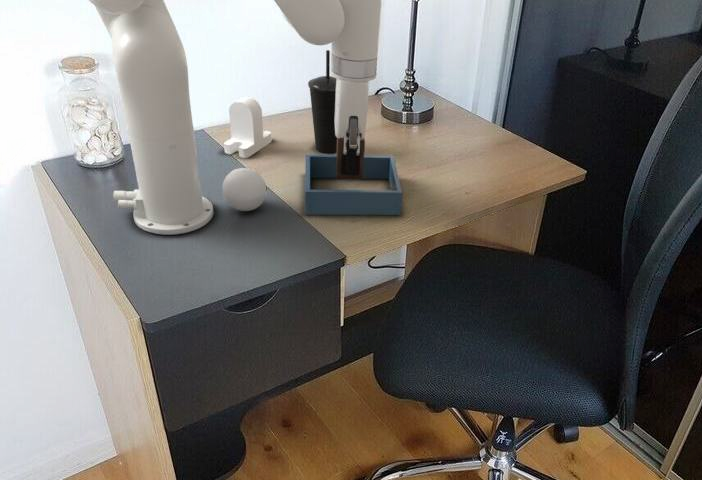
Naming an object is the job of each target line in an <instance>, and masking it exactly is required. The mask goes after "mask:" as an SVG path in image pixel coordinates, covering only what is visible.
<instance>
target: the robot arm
mask: <svg viewBox="0 0 702 480" xmlns="http://www.w3.org/2000/svg"><path fill="white" fill-rule="evenodd" d="M88 1H89V2H90V4H92V5H94V8H95V9H96V11H97V13H98V15H99V17H100V19H101V20H102V23H103V24H104V27H105V29H106V30H107V33H108V34H109V37H110V39H111V47H112V57H113V63H114V69H115V74H116V79H117V84H118V87H119V93H120V97H121V98H120V99H121V104H122V108H123V113H124V119H125V125H126V129H127V134H128V139H129V144H130V150H131V154H132V160H133V165H134V172H135V176H136V177H135V178H136V181H137V187H138V189H137V188H135V189H133V191H129V190H128V191H127V190H114V191H113V201H114V203H117V208H118V209H133V211H132V212H133V213H132V215H133V220H134V223H135V225H136V226H137V227H138V228H140V229H141V230H143V231H146V232H148V233H151V234H156V235H166V236H167V235H171V236H172V235H180V234H181V235H182V234H187V233H190V232H193V231H196V230H199V229H201V228H202V227H204V226H205V225H207V224H208V223H209V222H210V221H211V220H212V218H213V216H214V207H213V204H212V201H210V200H209V199H207V198H206V197H204V196H203V194H202V186H201V179H200V169H199V163H198V153H197V145H196V137H195V130H194V129H195V128H194V123H193V113H192V105H191V97H190V96H191V95H190V82H189V67H188V59H187V55H186V51H185V48H184V45H183V42H182V39H181V37H180V35H179V33H178V30H177V28H176V25H175V23H174V20H173V18H172V16H171V14H170V12H169V10H168V7H167V5H166V3H165V0H88ZM273 1H274V3H275V4H276V6H277V7H278V8H279V10H280V12H281V14H282V17H283V18H284V19H285V21H286V22H287V23H288V24H289V25H290V27H292V28H293V29H294V31H295V32H296V33H297V35H298V36H299V37H300V38H301V39H302V40H303V41H305V42H306V43H308V44H310V45H313V46H327V45H329V44H331V50H330V75H331V76H333V77H336V78H337V80H336V95H335V119H334V122H335V135H336V137H337V138H338V139H340V138H344V144H343V152H342V157H341V174H342V175H359V171H360V138H361V139H363V138H365V136H366V128H367V118H368V117H367V116H368V107H369V93H370V92H369V91H370V81H371V82H372V81H373V80H375V79H376V78H377V76H378V75H377V73H378V62H379V46H380V32H381V17H382V5H383V3H382V2H383V0H273ZM346 133H349V136H346ZM357 133H358V136H357ZM347 140H349V144H347Z"/></svg>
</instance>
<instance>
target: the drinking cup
mask: <svg viewBox="0 0 702 480" xmlns="http://www.w3.org/2000/svg"><path fill="white" fill-rule="evenodd" d="M336 80H337V78H336V77H334V76H333V75H331V50H328V49H327V50H326V51H325V75H322V76H317V77H314V78H311V79H310V80H309V81H308V82H307V86H308V88H309V94H310V104H311V105H310V106H311V115H312V124H313V133H314V135H313V136H314V143H315V150H316V151H318V152H319V153H324V154H334V153H336V150H337V137H336V135H335V122H334V119H335V95H336Z"/></svg>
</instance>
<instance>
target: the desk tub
mask: <svg viewBox="0 0 702 480" xmlns="http://www.w3.org/2000/svg"><path fill="white" fill-rule="evenodd" d="M304 173H305V174H304V175H305V179H304V203H305V206H304V207H305V208H304V209H305V215H306V216H307V215H315V216H316V215H318V216H319V215H321V216H323V215H324V216H326V215H327V216H331V215H334V216H335V215H336V216H401V212H402V200H403V191H402V187H401V181H400V177H399V174H398V169H397V163H396V160H395V156H394V155H364V165H363V180H364V179H365V180H366V179H367V180H388V183H389V187H390V190H379V189H377V190H376V189H375V190H373V189H372V190H371V189H369V190H368V189H365V190H364V189H311V179H337V177H336V154H305V171H304Z"/></svg>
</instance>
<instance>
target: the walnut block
mask: <svg viewBox="0 0 702 480" xmlns="http://www.w3.org/2000/svg"><path fill="white" fill-rule="evenodd" d="M346 136H349V133H346ZM357 136H358V133H357ZM343 144H344V138H340V139H338V138H337V150H336V152H335V155H336V177H337V178H336V179H337V180H353V181H354V180H356V181H357V180H359V181H362V180H364V179H363V165H364V156H365V146H366V138H365V137H364V138H363V139H361V138H360V171H359V175H342V174H341V157H342V152H343ZM347 144H349V140H347Z"/></svg>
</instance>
